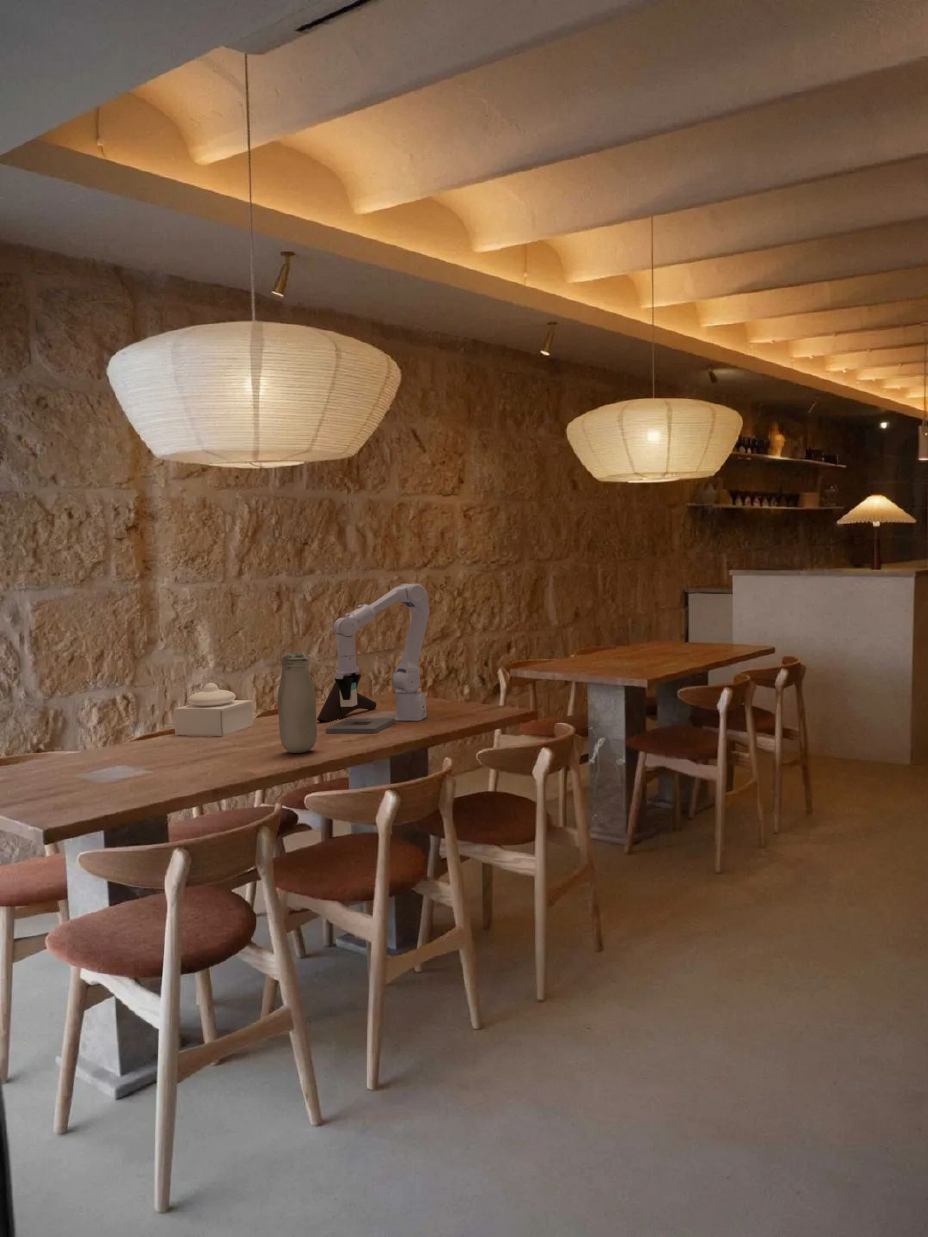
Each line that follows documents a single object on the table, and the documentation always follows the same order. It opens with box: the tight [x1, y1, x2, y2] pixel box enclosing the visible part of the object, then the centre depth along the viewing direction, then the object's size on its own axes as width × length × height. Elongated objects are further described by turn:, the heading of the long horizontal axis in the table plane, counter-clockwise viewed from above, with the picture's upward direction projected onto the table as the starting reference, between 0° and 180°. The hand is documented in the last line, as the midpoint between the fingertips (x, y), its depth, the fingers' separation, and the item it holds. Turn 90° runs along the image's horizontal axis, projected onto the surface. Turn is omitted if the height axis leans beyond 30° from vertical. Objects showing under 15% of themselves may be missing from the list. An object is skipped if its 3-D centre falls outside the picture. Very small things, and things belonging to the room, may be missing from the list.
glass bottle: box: [277, 651, 318, 754], centre depth 275 cm, size 10×10×28 cm
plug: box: [340, 683, 358, 707], centre depth 313 cm, size 4×4×7 cm
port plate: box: [325, 717, 396, 735], centre depth 310 cm, size 16×18×2 cm
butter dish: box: [173, 682, 254, 737], centre depth 317 cm, size 18×18×16 cm
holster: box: [316, 681, 377, 723], centre depth 336 cm, size 5×16×25 cm
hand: (349, 698), depth 313 cm, fingers closed on plug, 4 cm apart
